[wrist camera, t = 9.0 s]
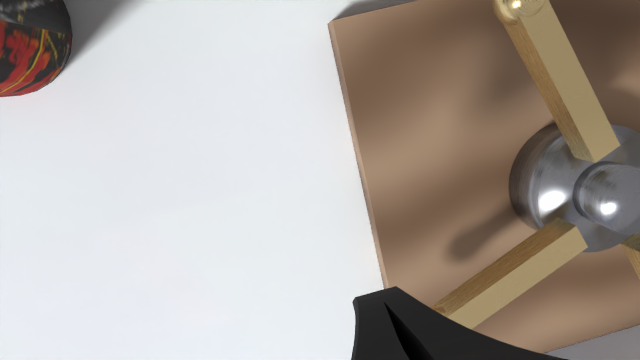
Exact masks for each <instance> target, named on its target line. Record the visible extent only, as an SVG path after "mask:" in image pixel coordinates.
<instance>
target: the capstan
mask: <svg viewBox="0 0 640 360" xmlns="http://www.w3.org/2000/svg"><path fill="white" fill-rule="evenodd" d="M493 11H494V13H495V15H496V17H497V18H498V19H499V20H500V21H501V22H502V23H503V25H504V27H505V29H506V30H507V32H508V34H509V36H510V38H511V40H512V42H513V43H514V45H515V47H516V49H517V51H518V53H519V55H520V57H521V58H522V60H523V62H524V64H525V66H526V68H527V70H528V72H529V73H530V75H531V77H532V79H533V81H534V83H535V85H536V86H537V88H538V90H539V92H540V94H541V96H542V98H543V100H544V101H545V103H546V105H547V107H548V109H549V111H550V113H551V115H552V116H553V118H554V120H555V123H552V124H550V125H548V126H546V127H544V128H542V129H541V130H539V131H538V132H536V133H535V134H534V135H533V136H531V137H530V138H529V139H528V140H527V141H526V143H525V144H524V145H523V146H522V148H521V149H520V151H519V152H518V154H517V156H516V158H515V160H514V162H513V164H512V167H511V171H510V175H509V184H508V189H509V197H510V202H511V205H512V207H513V209H514V211H515V213H516V214H517V216H518V217H519V219H520V220H521V221H522V222H523V223H524V224H526V225H527V226H528V227H530V228H532V229H534V230H535V231H536V232H535V233H534V234H532V235H531V236H529V237H528V238H527V239H525V240H524V241H522V242H521V243H520V244H518V245H517V246H515V247H514V248H512V249H511V250H510V251H508V252H507V253H505V254H504V255H503V256H501V257H500V258H498V259H497V260H496V261H494V262H493V263H491V264H490V265H489V266H487V267H486V268H484V269H483V270H481V271H480V272H479V273H477V274H476V275H474V276H473V277H472V278H470V279H469V280H467V281H466V282H465V283H463V284H462V285H460V286H459V287H458V288H456V289H455V290H453V291H452V292H450V293H449V294H448V295H446V296H445V297H443V298H442V299H441V300H439V301H438V302H436V303H435V304H434V305H432V306H429V307H430V308H431V309H433V310H435V311H437V312H438V313H440V314H442V315H444V316H445V317H447V318H449V319H451V320H453V321H455V322H457V323H459V324H461V325H463V326H465V327H467V328H469V329H473V328H474V327H476V326H477V325H478V324H480V323H481V322H483V321H484V320H485V319H487V318H488V317H490V316H491V315H493V314H494V313H495V312H497V311H498V310H500V309H501V308H502V307H504V306H505V305H507V304H508V303H510V302H511V301H512V300H514V299H515V298H517V297H518V296H520V295H521V294H522V293H524V292H525V291H527V290H528V289H529V288H531V287H532V286H534V285H535V284H537V283H538V282H539V281H541V280H542V279H544V278H545V277H546V276H548V275H549V274H551V273H552V272H554V271H555V270H556V269H558V268H559V267H561V266H562V265H564V264H565V263H566V262H568V261H569V260H571V259H572V258H573V257H575V256H576V255H578V254H579V253H581V252H587V253H590V252H599V251H603V250H607V249H610V248H612V247H614V246H616V245H619V244H620V243H621V245H622V247H623V249H624V251H625V253H626V255H627V257H628V258H629V260H630V262H631V264H632V266H633V268H634V270H635V272H636V273H637V275H638V277H639V279H640V133H639V132H637V131H636V130H633V129H631V128H628V127H624V126H620V125H612V124H610V123H609V121H608V119H607V117H606V115H605V113H604V111H603V109H602V107H601V105H600V103H599V101H598V99H597V97H596V95H595V93H594V91H593V89H592V87H591V85H590V83H589V81H588V79H587V77H586V75H585V73H584V71H583V69H582V67H581V65H580V63H579V61H578V59H577V57H576V55H575V52H574V50H573V48H572V46H571V44H570V42H569V40H568V38H567V36H566V34H565V32H564V30H563V28H562V26H561V24H560V22H559V20H558V18H557V16H556V14H555V12H554V10H553V8H552V6H551V4H550V2H549V0H493Z"/></svg>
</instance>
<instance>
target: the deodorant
mask: <svg viewBox="0 0 640 360" xmlns="http://www.w3.org/2000/svg"><path fill="white" fill-rule="evenodd" d="M71 42H72V30H71V23H70V16H69V14H68V12H67V9H66V7H65V4H64V2H63V0H0V97H7V96H20V95H24V94H27V93H31V92H35V91H38V90H39V89H41V88H43V87H44V86H46V85H48V84H49V83H51V82H52V81H53V80H54V79H55V78H56V77H57V75H58V74H59V73H60V72H61V71H62V70H63V68H64V66H65V64H66V61H67V59H68V57H69V55H70V50H71Z"/></svg>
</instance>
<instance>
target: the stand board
mask: <svg viewBox="0 0 640 360" xmlns="http://www.w3.org/2000/svg"><path fill="white" fill-rule="evenodd" d="M549 2H550V4H551V6H552V8H553V10H554V12H555V14H556V16H557V18H558V20H559V22H560V24H561V26H562V28H563V30H564V32H565V34H566V36H567V38H568V40H569V42H570V44H571V46H572V48H573V50H574V52H575V55H576V57H577V59H578V61H579V63H580V65H581V67H582V69H583V71H584V73H585V75H586V77H587V79H588V81H589V83H590V85H591V87H592V89H593V91H594V93H595V95H596V97H597V99H598V101H599V103H600V105H601V107H602V109H603V111H604V113H605V115H606V117H607V119H608V121H609V123H610V124H612V125H620V126H624V127H628V128H631V129H633V130H636V131H637V132H639V133H640V0H549ZM328 29H329V33H330V38H331V43H332V47H333V52H334V57H335V61H336V66H337V71H338V75H339V80H340V85H341V89H342V94H343V99H344V103H345V108H346V112H347V117H348V122H349V126H350V131H351V136H352V140H353V145H354V150H355V154H356V159H357V164H358V168H359V173H360V178H361V182H362V187H363V192H364V196H365V201H366V206H367V210H368V215H369V220H370V224H371V229H372V234H373V238H374V243H375V248H376V252H377V257H378V262H379V266H380V271H381V276H382V280H383V285H384V289H387V288H391V287H394V286H397V287H398V288H400V289H402V290H403V291H405V292H406V293H408V294H409V295H411V296H412V297H414V298H415V299H417V300H419V301H420V302H422V303H423V304H425V305H427V306H428V307H429V306H432V305H434V304H435V303H436V302H438V301H439V300H441V299H442V298H443V297H445V296H446V295H448V294H449V293H450V292H452V291H453V290H455V289H456V288H458V287H459V286H460V285H462V284H463V283H465V282H466V281H467V280H469V279H470V278H472V277H473V276H474V275H476V274H477V273H479V272H480V271H481V270H483V269H484V268H486V267H487V266H489V265H490V264H491V263H493V262H494V261H496V260H497V259H498V258H500V257H501V256H503V255H504V254H505V253H507V252H508V251H510V250H511V249H512V248H514V247H515V246H517V245H518V244H520V243H521V242H522V241H524V240H525V239H527V238H528V237H529V236H531V235H532V234H534V233H535V232H536V231H535V230H534V229H532V228H530V227H528V226H527V225H526V224H524V223H523V222H522V221H521V220H520V219H519V217H518V216H517V214H516V213H515V211H514V209H513V207H512V205H511V202H510V197H509V189H508V184H509V175H510V171H511V167H512V164H513V162H514V160H515V158H516V156H517V154H518V152H519V151H520V149H521V148H522V146H523V145H524V144H525V143H526V141H527V140H528V139H529V138H530V137H531V136H533V135H534V134H535V133H536V132H538V131H539V130H541V129H542V128H544V127H546V126H548V125H550V124H552V123H555V120H554V118H553V116H552V115H551V113H550V111H549V109H548V107H547V105H546V103H545V101H544V100H543V98H542V96H541V94H540V92H539V90H538V88H537V86H536V85H535V83H534V81H533V79H532V77H531V75H530V73H529V72H528V70H527V68H526V66H525V64H524V62H523V60H522V58H521V57H520V55H519V53H518V51H517V49H516V47H515V45H514V43H513V42H512V40H511V38H510V36H509V34H508V32H507V30H506V29H505V27H504V25H503V23H502V22H501V21H500V20H499V19H498V18H497V17H496V15H495V13H494V11H493V0H417V1H412V2H408V3H404V4H400V5H395V6H391V7H387V8H382V9H378V10H374V11H370V12H365V13H361V14H357V15H353V16H348V17H344V18H340V19H335V20H332V21H331V22H330V23H329V24H328ZM637 325H640V279H639V277H638V275H637V273H636V272H635V270H634V268H633V266H632V264H631V262H630V260H629V258H628V257H627V255H626V253H625V251H624V249H623V247H622V245H621V243H620V244H619V245H616V246H614V247H612V248H610V249H607V250H603V251H599V252H590V253H587V252H581V253H579V254H578V255H576V256H575V257H573V258H572V259H571V260H569V261H568V262H566V263H565V264H564V265H562V266H561V267H559V268H558V269H556V270H555V271H554V272H552V273H551V274H549V275H548V276H546V277H545V278H544V279H542V280H541V281H539V282H538V283H537V284H535V285H534V286H532V287H531V288H529V289H528V290H527V291H525V292H524V293H522V294H521V295H520V296H518V297H517V298H515V299H514V300H512V301H511V302H510V303H508V304H507V305H505V306H504V307H502V308H501V309H500V310H498V311H497V312H495V313H494V314H493V315H491V316H490V317H488V318H487V319H485V320H484V321H483V322H481V323H480V324H478V325H477V326H476V327H474V328H473V329H471V330H474V331H476V332H478V333H481V334H483V335H486V336H488V337H491V338H494V339H496V340H499V341H501V342H504V343H507V344H510V345H513V346H517V347H520V348H523V349H527V350H530V351H534V352H537V353H541V354H543V353H546V352H549V351H553V350H556V349H559V348H563V347H566V346H570V345H573V344H576V343H580V342H583V341H586V340H590V339H593V338H596V337H600V336H603V335H606V334H610V333H613V332H617V331H620V330H623V329H627V328H630V327H633V326H637Z"/></svg>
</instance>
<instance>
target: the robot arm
mask: <svg viewBox="0 0 640 360" xmlns="http://www.w3.org/2000/svg"><path fill="white" fill-rule="evenodd" d="M353 306H354V310H355V318H356V325H355V339H354V346H353V352H352V358H351V360H568V359H563V358H558V357H553V356H549V355H545V354H541V353H537V352H534V351H530V350H527V349H523V348H520V347H517V346H513V345H510V344H507V343H504V342H501V341H499V340H496V339H494V338H491V337H488V336H486V335H483V334H481V333H478V332H476V331H474V330H471V329H469V328H467V327H465V326H463V325H461V324H459V323H457V322H455V321H453V320H451V319H449V318H447V317H445V316H444V315H442V314H440V313H438V312H437V311H435V310H433V309H431V308H430V307H428V306H427V305H425V304H423V303H422V302H420V301H419V300H417V299H415V298H414V297H412V296H411V295H409V294H408V293H406V292H405V291H403V290H402V289H400V288H398V287H397V286H394V287H391V288H387V289H383V290H380V291H376V292H373V293H369V294H366V295H362V296H358V297H355V299H354V300H353Z"/></svg>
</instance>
